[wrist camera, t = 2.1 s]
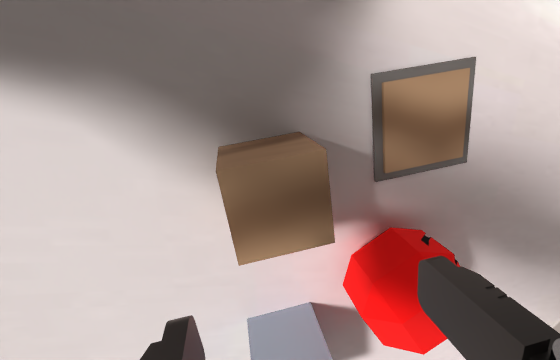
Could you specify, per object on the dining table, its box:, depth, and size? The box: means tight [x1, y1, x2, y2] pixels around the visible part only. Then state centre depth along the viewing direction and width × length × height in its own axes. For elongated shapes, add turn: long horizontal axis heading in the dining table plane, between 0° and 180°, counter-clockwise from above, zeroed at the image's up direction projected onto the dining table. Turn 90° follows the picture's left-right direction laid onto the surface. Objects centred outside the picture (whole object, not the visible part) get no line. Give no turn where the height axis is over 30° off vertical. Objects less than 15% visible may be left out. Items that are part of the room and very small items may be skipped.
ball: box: [343, 228, 460, 354], centre depth 22 cm, size 8×8×8 cm
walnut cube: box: [216, 132, 335, 266], centre depth 19 cm, size 6×6×6 cm
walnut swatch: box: [371, 57, 476, 182], centre depth 22 cm, size 8×8×1 cm
